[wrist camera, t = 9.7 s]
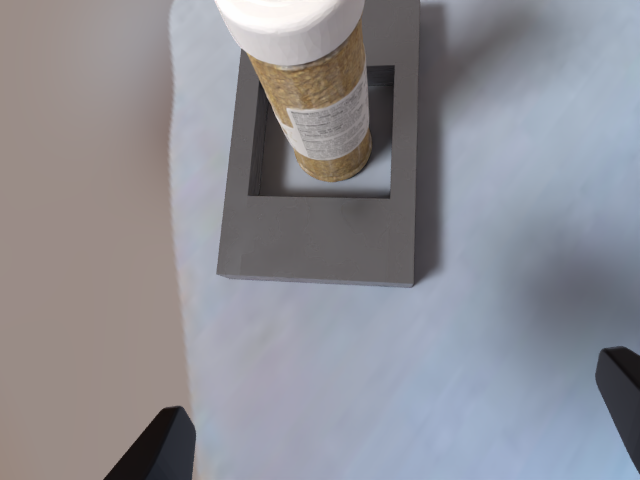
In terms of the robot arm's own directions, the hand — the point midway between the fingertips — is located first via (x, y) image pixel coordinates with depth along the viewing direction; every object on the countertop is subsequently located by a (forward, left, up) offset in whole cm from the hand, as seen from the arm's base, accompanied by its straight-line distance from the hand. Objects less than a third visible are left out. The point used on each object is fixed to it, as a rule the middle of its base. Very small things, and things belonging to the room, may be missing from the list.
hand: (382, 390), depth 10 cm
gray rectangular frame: (+12, +4, -14) cm, 18 cm away
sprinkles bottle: (+11, +3, -14) cm, 18 cm away
